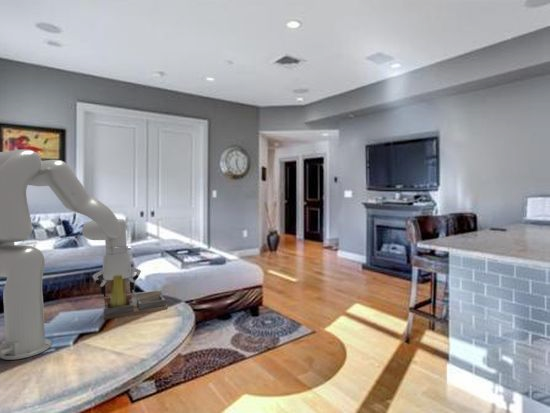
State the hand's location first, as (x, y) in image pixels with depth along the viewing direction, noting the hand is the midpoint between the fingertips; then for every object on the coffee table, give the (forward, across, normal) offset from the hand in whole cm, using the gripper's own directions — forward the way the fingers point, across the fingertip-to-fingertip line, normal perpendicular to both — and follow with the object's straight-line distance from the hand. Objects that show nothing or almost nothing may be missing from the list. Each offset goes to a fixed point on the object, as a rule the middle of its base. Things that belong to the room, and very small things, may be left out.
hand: (118, 293), depth 138 cm
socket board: (+7, -6, 0) cm, 10 cm away
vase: (+7, 0, 0) cm, 7 cm away
